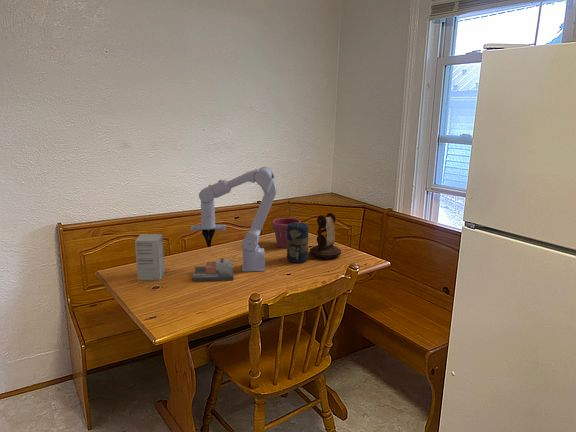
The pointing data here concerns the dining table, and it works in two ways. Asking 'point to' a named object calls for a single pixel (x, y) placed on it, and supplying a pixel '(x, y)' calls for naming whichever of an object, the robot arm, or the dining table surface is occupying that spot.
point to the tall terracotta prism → (211, 268)
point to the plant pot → (282, 230)
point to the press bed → (202, 276)
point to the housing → (222, 266)
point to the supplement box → (149, 256)
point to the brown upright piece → (326, 238)
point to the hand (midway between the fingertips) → (209, 246)
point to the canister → (297, 242)
